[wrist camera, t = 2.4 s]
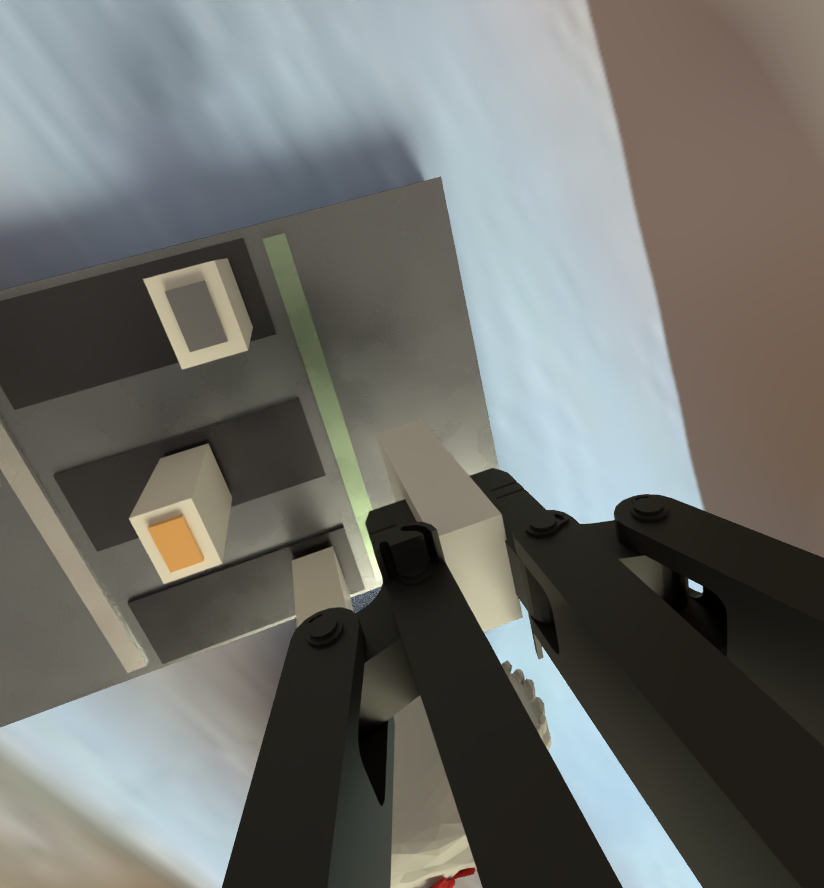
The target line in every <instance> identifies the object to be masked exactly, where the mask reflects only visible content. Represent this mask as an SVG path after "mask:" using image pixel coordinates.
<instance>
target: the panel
mask: <svg viewBox="0 0 824 888" xmlns="http://www.w3.org/2000/svg"><path fill="white" fill-rule="evenodd" d="M225 258H228V260H229V263H230V266H231V269H232V271H233V274H234V277H235V280H236V282H237V285H238V288H239V291H240V293H241V296H242V299H243V302H244V304H245V307H246V310H247V313H248V315H249V318H250V321H251V324H252V326H253V329H252V334H251V339H250V343H249V348H248V351H244V352H241V353H237V354H234V355H230V356H227V357H224V358H220V359H217V360H213V361H210V362H207V363H203V364H200V365H196V366H193V367H189V368H186V369H183V370H182V368H181V366H180V364H179V361H178V359H177V357H176V354H175V352H174V350H173V347H172V345H171V343H170V340H169V338H168V336H167V333H166V331H165V329H164V326H163V324H162V322H161V320H160V317H159V315H158V313H157V310H156V308H155V306H154V303H153V301H152V299H151V296H150V294H149V292H148V289H147V287H146V285H145V283H144V280H143V279H146V278H149V277H153V276H157V275H161V274H164V273H168V272H172V271H176V270H180V269H183V268H187V267H191V266H195V265H198V264H202V263H206V262H210V261H214V260H219V259H225ZM419 419H421V420H422V421H423V422H424V423H425V425H426V426H427V427H428V428H429V429H430V430H431V432H432V433H433V434H434V435H435V436H436V438H437V439H438V440H439V441H440V442H441V443H442V445H443V446H444V447H445V448H446V449H447V450H448V452H449V453H450V454H451V455H452V456H453V458H454V459H455V460H456V461H457V462H458V463H459V465H460V466H461V467H462V468H463V469H464V470H465V472H466V473H467V474H468V475H469V476H470V475H473V474H476V473H479V472H482V471H485V470H488V469H491V468H495V469H498V470H499V468H498V462H497V457H496V452H495V447H494V442H493V437H492V432H491V427H490V422H489V417H488V412H487V407H486V402H485V397H484V392H483V387H482V382H481V377H480V372H479V367H478V361H477V356H476V351H475V346H474V341H473V336H472V331H471V326H470V321H469V316H468V311H467V306H466V301H465V296H464V291H463V286H462V281H461V276H460V271H459V265H458V260H457V255H456V250H455V245H454V240H453V235H452V230H451V225H450V220H449V215H448V210H447V205H446V200H445V195H444V190H443V185H442V180H441V177H438V178H434V179H430V180H426V181H423V182H419V183H415V184H411V185H407V186H403V187H399V188H396V189H392V190H388V191H384V192H380V193H376V194H372V195H368V196H365V197H361V198H357V199H353V200H349V201H345V202H341V203H337V204H334V205H330V206H326V207H322V208H318V209H314V210H310V211H306V212H303V213H299V214H295V215H291V216H287V217H283V218H279V219H275V220H272V221H268V222H264V223H260V224H256V225H252V226H248V227H244V228H241V229H237V230H233V231H229V232H225V233H221V234H217V235H213V236H210V237H206V238H202V239H198V240H194V241H190V242H186V243H183V244H179V245H175V246H171V247H167V248H163V249H159V250H155V251H152V252H148V253H144V254H140V255H136V256H132V257H128V258H124V259H121V260H117V261H113V262H109V263H105V264H101V265H97V266H93V267H90V268H86V269H82V270H78V271H74V272H70V273H66V274H62V275H59V276H55V277H51V278H47V279H43V280H39V281H35V282H31V283H28V284H24V285H20V286H16V287H12V288H8V289H4V290H0V727H3V726H6V725H8V724H11V723H14V722H16V721H19V720H22V719H24V718H27V717H30V716H33V715H35V714H38V713H41V712H43V711H46V710H49V709H51V708H54V707H57V706H60V705H62V704H65V703H68V702H70V701H73V700H76V699H78V698H81V697H84V696H87V695H89V694H92V693H95V692H97V691H100V690H103V689H105V688H108V687H111V686H114V685H116V684H119V683H122V682H124V681H127V680H130V679H132V678H135V677H138V676H141V675H143V674H146V673H149V672H151V671H154V670H157V669H159V668H162V667H165V666H168V665H170V664H173V663H176V662H178V661H181V660H184V659H186V658H189V657H192V656H195V655H197V654H200V653H203V652H205V651H208V650H211V649H213V648H216V647H219V646H222V645H224V644H227V643H230V642H232V641H235V640H238V639H240V638H243V637H246V636H249V635H251V634H254V633H257V632H259V631H262V630H265V629H267V628H270V627H273V626H276V625H278V624H281V623H284V622H286V621H289V620H292V619H294V618H296V611H295V598H294V584H293V571H292V560H295V559H298V558H301V557H304V556H306V555H309V554H312V553H315V552H318V551H320V550H323V549H326V548H329V547H332V546H333V549H334V551H335V554H336V557H337V560H338V562H339V565H340V568H341V571H342V573H343V576H344V579H345V582H346V584H347V587H348V590H349V594H350V598H351V597H354V596H356V595H359V594H362V593H365V592H367V591H370V590H373V589H375V588H378V587H381V586H382V584H383V581H382V576H381V573H380V570H379V567H378V564H377V561H376V558H375V555H374V550H373V547H372V544H371V541H370V538H369V534H368V531H367V528H366V525H365V521H366V519H367V516H368V513H369V511H371V510H374V509H377V508H380V507H383V506H386V505H389V504H392V503H395V502H396V501H395V497H394V494H393V491H392V487H391V484H390V480H389V477H388V474H387V470H386V467H385V464H384V460H383V457H382V453H381V450H380V447H379V443H378V440H377V436H376V433H379V432H382V431H385V430H388V429H391V428H394V427H398V426H401V425H404V424H407V423H410V422H413V421H416V420H419ZM205 444H209V446H210V448H211V450H212V453H213V455H214V457H215V460H216V462H217V464H218V466H219V469H220V471H221V473H222V476H223V478H224V480H225V482H226V485H227V487H228V489H229V492H230V494H231V496H232V502H231V509H230V516H229V523H228V529H227V536H226V543H225V549H224V556H223V563H222V564H220V565H217V566H215V567H212V568H209V569H206V570H203V571H200V572H197V573H194V574H192V575H189V576H186V577H183V578H180V579H177V580H174V581H172V582H169V583H166V584H164V583H163V581H162V580H161V578H160V576H159V574H158V572H157V570H156V568H155V567H154V565H153V563H152V561H151V559H150V557H149V555H148V553H147V552H146V550H145V548H144V546H143V544H142V542H141V540H140V539H139V537H138V535H137V533H136V531H135V529H134V527H133V526H132V524H131V522H130V520H129V517H130V515H131V513H132V511H133V509H134V508H135V506H136V504H137V502H138V500H139V498H140V496H141V494H142V492H143V490H144V488H145V487H146V485H147V483H148V481H149V479H150V477H151V475H152V473H153V471H154V469H155V467H156V466H157V464H158V462H159V460H160V458H164V457H167V456H170V455H173V454H176V453H179V452H183V451H186V450H189V449H192V448H195V447H199V446H202V445H205Z"/></svg>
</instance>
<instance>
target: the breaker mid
mask: <svg viewBox="0 0 824 888" xmlns="http://www.w3.org/2000/svg"><path fill="white" fill-rule="evenodd" d="M231 502H232V496H231V494H230V492H229V489H228V487H227V485H226V482H225V480H224V478H223V476H222V473H221V471H220V469H219V466H218V464H217V462H216V460H215V457H214V455H213V453H212V450H211V448H210V446H209V444H205V445H202V446H199V447H195V448H192V449H189V450H186V451H183V452H179V453H176V454H173V455H170V456H167V457H164V458H160V460H159V462H158V464H157V466H156V467H155V469H154V471H153V473H152V475H151V477H150V479H149V481H148V483H147V485H146V487H145V488H144V490H143V492H142V494H141V496H140V498H139V500H138V502H137V504H136V506H135V508H134V509H133V511H132V513H131V515H130V517H129V520H130V522H131V524H132V526H133V527H134V529H135V531H136V533H137V535H138V537H139V539H140V540H141V542H142V544H143V546H144V548H145V550H146V552H147V553H148V555H149V557H150V559H151V561H152V563H153V565H154V567H155V568H156V570H157V572H158V574H159V576H160V578H161V580H162V581H163V583H164V584H166V583H169V582H172V581H174V580H177V579H180V578H183V577H186V576H189V575H192V574H194V573H197V572H200V571H203V570H206V569H209V568H212V567H215V566H217V565H220V564H222V563H223V556H224V549H225V543H226V536H227V529H228V523H229V516H230V509H231Z"/></svg>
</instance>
